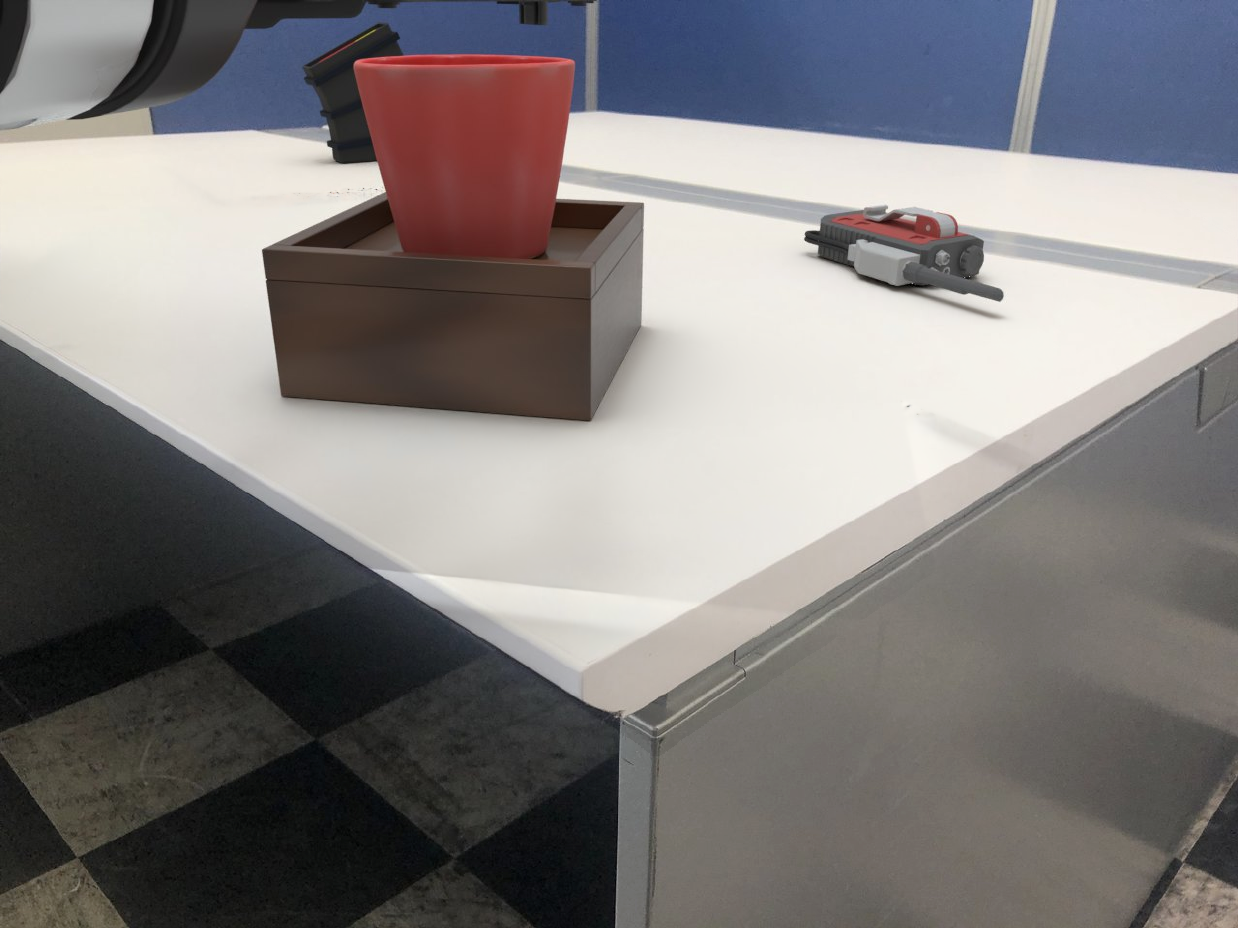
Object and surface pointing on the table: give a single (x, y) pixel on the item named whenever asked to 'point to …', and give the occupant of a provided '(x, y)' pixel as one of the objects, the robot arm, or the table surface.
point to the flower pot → (469, 148)
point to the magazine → (349, 90)
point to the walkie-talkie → (904, 248)
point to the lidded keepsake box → (457, 314)
